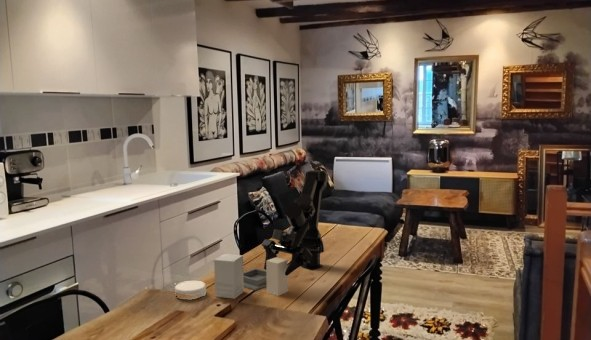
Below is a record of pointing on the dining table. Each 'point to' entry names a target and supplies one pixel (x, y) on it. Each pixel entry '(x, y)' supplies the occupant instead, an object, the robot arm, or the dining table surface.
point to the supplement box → (229, 276)
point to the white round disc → (191, 288)
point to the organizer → (255, 279)
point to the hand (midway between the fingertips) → (275, 272)
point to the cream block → (276, 276)
